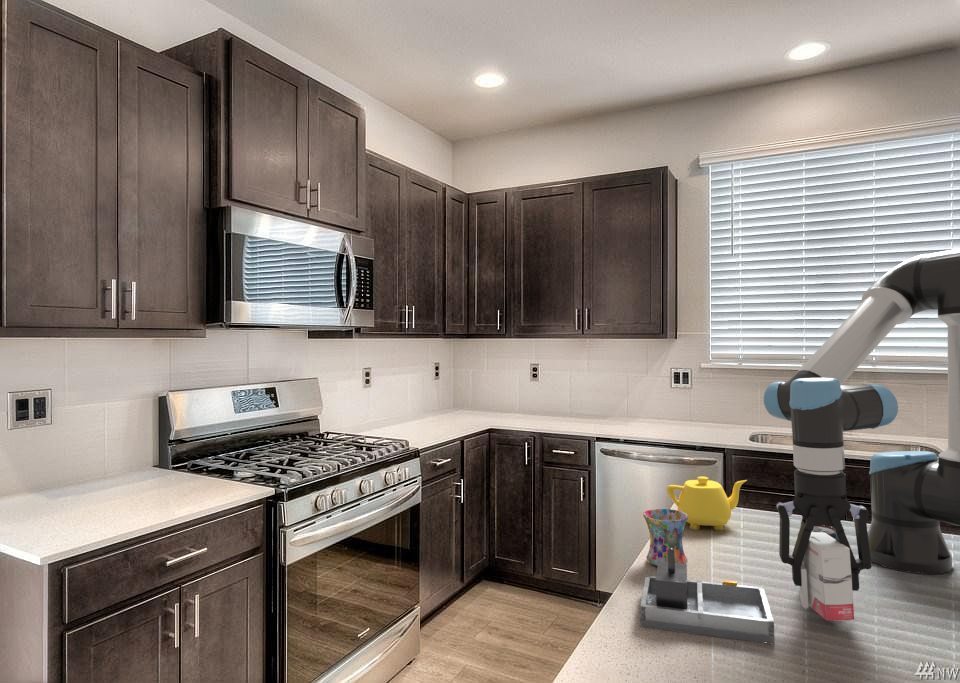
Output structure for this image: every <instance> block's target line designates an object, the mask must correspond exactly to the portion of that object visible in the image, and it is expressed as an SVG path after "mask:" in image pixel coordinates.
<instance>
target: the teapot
mask: <svg viewBox="0 0 960 683" xmlns="http://www.w3.org/2000/svg"><path fill="white" fill-rule="evenodd" d="M747 481H748V480H747V479H744V480H738V481H736V482H735V483H734V484H733V487H732V493H731V494H730V496H729V497H728V496H727V494H726V492H725V490H724V487H723V486H722V484H721V483H719V482H718V481H714V480H709V477H708V476H697V478H696V479H689V480H686V481H684V484H683V485H678V484H669V485H667V486H666V494H667V495H668V497H669V499H671V501H672V502H673V504H675V505H676V507H677V510H678V511H681V512H684V513H686V514H687V516H688V519H687V521H686V523H688V524H690V525H689V529H691V530H699V529H700V526H713V529H714V530H715V531H724V530H725V528H724V526H725V525H727V524H728V523H729V521H730V519H731V517H732V511H733V510H734V509H735V508H736V507H737V506H738V503H739V499H740V498H739V497H740V489H741V487H742V485H743V484H744V483H745V482H747ZM676 490H681V491H680V492H679V496H678V499H677V496H676V494H675V491H676Z"/></svg>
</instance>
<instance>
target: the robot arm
mask: <svg viewBox="0 0 960 683" xmlns="http://www.w3.org/2000/svg"><path fill="white" fill-rule="evenodd" d="M930 310H937V318H938V319H939V320H941V321H942V322H943V323H944V324H945V325H946V326H947V428H948V429H947V447H946V448H945V449H944V450H943V451H941V452H940V453H939V454H938V455H937V453H935V452H934V451H933V452H932V451H927V450H926V451H923V450H901V451H900V450H898V451H897V450H896V451H883V452H878V453H875V454H873V455H872V456H871V458H870V465H869V471H868V474H869V481H870V482H869V484H870V500H871V504H870V505H871V522H870V525H869V528H868V525H867V524H868V520H869V516H870V511H869V510H868V509H867V507H865V506H864V505H861V504H859V505H856V504H852V503H851V502H850V501H849V500H848V496H847V478H846V473H845V472H844V469H846V462H845V445H844V441H845V440H844V432H849V431H851V432H852V431H857V430H858V431H859V430H867V429H871V430H874V429H877V428H879V427H885V426H887V425H889V424H891V423H892V422H894V420H896V417H897V416H898V412H899V405H898V400H897V398H896V396H895V394H894V393H893V392H892V391H891V390H890V389H889V388H887V387H886V386H883V385H880V384H862V385H861V384H860V385H846V384H844V383H845V382H846V381H847V380H848V379H849V377H851V375H852V374H853V373H854V372H855V371H856V370H857V369H858V368H859V367H860V365H861V364H862V363H863V362H864V361H865V360H866V359H867V357H868V356H870V354H871V353H872V352H873V351H874V350H875V349H876V347H878V345H879V344H880V343H881V342H882V341H883V340H884V339H885V338H886V337H887V335H889V334H890V332H892V330H893V329H894V328H895V327H896V326H897V325H901V324H904V323H906V322H907V321H909V319H910V318H911V317H912V316H913V315H915V314H918V313H921V312H924V311H930ZM763 405H764V408H765V409H766V411H767V412H768V414H769V415H771V416H772V417H774V418H777V419H781V420H786V421H789V422H790V424H791V433H792V434H791V435H792V454H793V466H794V467H795V468H796V469H795V470H793V476H794V480H793V482H794V496H793V497H792V501H787V502H781V501H777V503H776V504H775V507H776V509H777V511H778V514H779V541H778V542H779V546H778V547H779V548H778V549H779V550H778V551H779V552H778V553H779V555H778V556H779V558H780V560H781V562H782V563H783V564H787V565H789V566H791V573H792V574H791V576H792V577H791V578H792V582H793V584H794V586H795V587H799V594H800V596H799V597H800V603H801V605H802V608H803V609H809V605H808V590H807V571H806V568H805V566H804V564H802V562H803V559H804V555H805V552H806V549H807V545H808V542H809V539H810V535H811V532H812V531H813V528H814V526H821V525H824V526H828V527H832V528H833V530H834V532H835V535H836V537H837V540H838V541H839V542H840V544H843V545H845V546H846V547H848V548H849V549H850V563H851V578H852V592H853V591H855V592H859V590H860V576H859V574H861V571H864V570H870V569H872V567H873V566H872V563H875V564H877V565H879V566H882V567H884V568H889V569H893V570H897V571H902V572H906V573H913V574H924V575H927V574H928V575H929V574H930V575H939V574H946V573H949V572H951V571H952V570H953V558H952V554H951V552H950V549H949V547H948V544H947V543H946V540H945V537H944V534H943V533H942V530H941V526H940V522H943V523H947V524H951V525H953V526H959V527H960V248H955V249H954V248H953V249H949V250H943V251H942V250H941V251H936V252H927V253H922V254H919V255H916V256H914V257H911V258H909V259H907V260H905V261H903V262H901V263H899V264H898V265H896V266H894V267H893V268H891V269H890V270H888V271H887V272H886V273H884V274H883V275H882V276H881V277H879V278H878V279H876V280H875V281H874V282H873V283H872V284H871V286H869V288H868V289H867V290H865V292H864V293H863V294H862V296H861V303H860V304H859V306H857V308H856V309H855V310H854V311H853V312H852V313H851V314H850V315H849V316H848V317H847V318H846V319H845V321H844V322H842V323H841V325H839V327H838V328H836V330H835V331H834V332H833V333H832V334H831V335H830V336H829V337H828V338H827V339H826V341H824V342H823V344H821V346H820V347H819V348H818V349H817V350H815V352H814V353H813V354H812V355H811V357H809V359H808V360H807V361H806V362H805V363H804V364H803V365H802V366H801V367H800V368H799V369H797V371H796V373H795V374H793V375H792V377H791V378H790V379H789V380H781V381H775V382H772V383H770V384H769V385H768V386H767V387H766V389H765V391H764V393H763ZM794 509H795V510H796V511H797V512H798V513H799V514H800V516H801V517H802V518H801V522H800V528H799V531H798V533H799V534H798V533H797V537H796V541H795V544H794V548H793V551H792V554H790V541H791V540H790V536H791V535H790V533H791V532H790V529H791V528H790V527H791V526H790V525H791V524H790V517H791V516H792V515H793V510H794ZM849 512H850V515H851V517H852V519H854V520H853V522H854V529H855V530H854V531H855V537H856V547H857V554H858V555H857V556H858V558H857V559H856V557H855V555H854V552H853V551H852V547H851V544H850V543H849V540H848V537H847V535H846V533H845V529H844V526H843V524H842V522H841V521H842V520H843V519H844V518H845V516H846V515H847V514H848V513H849Z"/></svg>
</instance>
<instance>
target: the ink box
mask: <svg viewBox="0 0 960 683" xmlns="http://www.w3.org/2000/svg"><path fill="white" fill-rule="evenodd" d="M798 534H799V532H797V535H798ZM802 564H804V566H805V568H806V571H807V590H808V606H809V607H810V608H812V609H813V610H814V611H815V612H816V613H817V614H818V615H819V616H820V617H821V618H822V619H824V621H851V620H855V610H854V609H855V607H854V597H853V596H854V595H853V590H852V578H851V563H850V549H849V548H848V547H846V546H845V545H843V544H840V542H839V541H837V540H836V539H834V538H832V537H831V536H829V535H828V534H826V533H825V532H811V535H810V539H809V542H808V545H807V549H806V552H805V555H804V559H803V562H802Z"/></svg>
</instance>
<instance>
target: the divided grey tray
mask: <svg viewBox="0 0 960 683" xmlns="http://www.w3.org/2000/svg"><path fill="white" fill-rule="evenodd" d="M667 554H668V562H660V561H658V566H656V567H657V568H656V576H655V575H645V579H644V583H643V591H642V596H641V601H640V627H641V628H647V629H655V630H662V631H670V632H679V633H685V634H694V635H700V636H707V635H708V636H709V637H716V638H723V639H732V640H739V641H746V642H753V643H754V641H755V643H760V642H767V643H766V644H768V643H773V644H772V645H776V639H775V638H776V637H775V622H774V618H773V616H772V612H771V608H770V605H769V601H768V598H767V594H766V592H765V588H764V587H762V586H752V585H751V586H750V585H742V584H738V582H737V580H725V579H722V580H721V582H714V581H713V582H711V581H705V580H704V581H702V580H694V579H693V580H692V579H688V568H687V567H688V565H687V563H686V564H682V563H675V553H674V549H673V548H669V549H668V550H667Z"/></svg>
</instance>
